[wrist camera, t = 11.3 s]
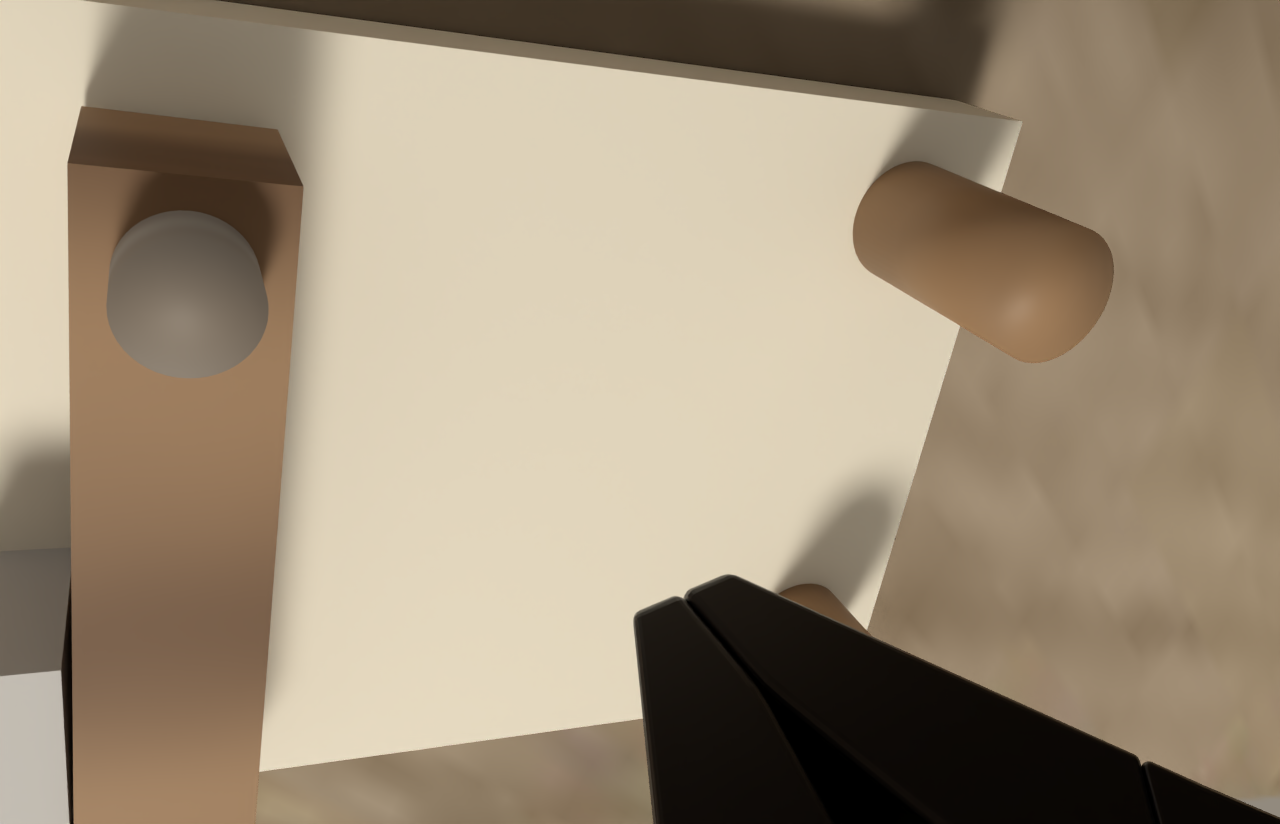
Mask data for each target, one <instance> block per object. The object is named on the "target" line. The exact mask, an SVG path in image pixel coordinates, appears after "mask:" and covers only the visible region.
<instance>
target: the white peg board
mask: <svg viewBox="0 0 1280 824" xmlns="http://www.w3.org/2000/svg"><path fill="white" fill-rule="evenodd" d="M81 106H86V107H94V108H103V109H111V110H119V111H128V112H136V113H145V114H153V115H161V116H170V117H178V118H187V119H195V120H203V121H212V122H220V123H228V124H237V125H245V126H254V127H262V128H270V129H278V131H279V133H280V136H281V138H282V140H283V142H284V144H285V147H286V149H287V151H288V153H289V155H290V158H291V160H292V162H293V164H294V166H295V169H296V171H297V173H298V175H299V177H300V180H301V182H302V184H303V186H304V189H303V202H302V215H301V228H300V242H299V255H298V268H297V281H296V294H295V307H294V320H293V334H292V347H291V360H290V373H289V386H288V399H287V412H286V426H285V439H284V452H283V465H282V478H281V491H280V504H279V518H278V531H277V544H276V557H275V570H274V583H273V597H272V610H271V623H270V636H269V649H268V662H267V675H266V689H265V702H264V715H263V728H262V741H261V754H260V767H259V772H261V771H268V770H275V769H282V768H290V767H297V766H304V765H311V764H318V763H326V762H333V761H340V760H347V759H354V758H362V757H369V756H376V755H383V754H390V753H397V752H405V751H412V750H419V749H426V748H433V747H441V746H448V745H455V744H462V743H469V742H477V741H484V740H491V739H498V738H505V737H513V736H520V735H527V734H534V733H541V732H549V731H556V730H563V729H570V728H577V727H585V726H592V725H599V724H606V723H613V722H621V721H628V720H635V719H642V718H643V716H642V706H641V696H640V686H639V677H638V667H637V657H636V647H635V637H634V627H633V618H634V615H635V614H636V612H638V611H639V610H641V609H644V608H646V607H648V606H651V605H653V604H656V603H658V602H660V601H663V600H665V599H667V598H670V597H672V596H679V597H682V598H684V595H685V594H686V592H687V591H688V590H689V589H691V588H693V587H696V586H698V585H700V584H703V583H705V582H707V581H710V580H712V579H714V578H717V577H719V576H722V575H725V574H731V575H736V576H739V577H741V578H743V579H745V580H748V581H750V582H752V583H754V584H757V585H759V586H761V587H763V588H765V589H768V590H770V591H772V592H774V593H777V594H779V595H781V596H783V597H785V598H788V599H790V600H792V601H794V602H797V603H799V604H801V605H803V606H805V607H808V608H810V609H812V610H814V611H817V612H819V613H821V614H823V615H825V616H828V617H830V618H832V619H834V620H837V621H839V622H841V623H843V624H845V625H848V626H850V627H852V628H854V629H857V630H859V631H861V632H863V633H865V634H868V635H870V634H869V632H868V631H867V628H868V625H869V621H870V618H871V615H872V612H873V608H874V605H875V602H876V599H877V595H878V592H879V589H880V586H881V582H882V579H883V576H884V572H885V569H886V566H887V563H888V559H889V556H890V553H891V550H892V546H893V543H894V540H895V537H896V533H897V530H898V527H899V523H900V520H901V517H902V514H903V510H904V507H905V504H906V501H907V497H908V494H909V491H910V488H911V484H912V481H913V478H914V475H915V471H916V468H917V465H918V461H919V458H920V455H921V452H922V448H923V445H924V442H925V439H926V435H927V432H928V429H929V426H930V422H931V419H932V416H933V412H934V409H935V406H936V403H937V399H938V396H939V393H940V390H941V386H942V383H943V380H944V377H945V373H946V370H947V367H948V363H949V360H950V357H951V354H952V350H953V347H954V344H955V341H956V337H957V334H958V331H959V328H960V326H961V327H963V328H965V329H966V330H968V331H970V332H971V333H973V334H975V335H976V336H978V337H980V338H981V339H983V340H985V341H986V342H988V343H990V344H991V345H993V346H995V347H996V348H998V349H1000V350H1001V351H1003V352H1005V353H1006V354H1008V355H1010V356H1012V357H1013V358H1015V359H1017V360H1019V361H1023V362H1027V363H1040V362H1045V361H1049V360H1052V359H1054V358H1057V357H1059V356H1061V355H1063V354H1064V353H1066V352H1067V351H1069V350H1070V349H1072V348H1073V347H1074V346H1076V345H1077V344H1078V343H1079V342H1080V341H1081V340H1082V339H1083V338H1084V337H1085V336H1086V335H1087V334H1088V333H1089V332H1090V330H1091V329H1092V328H1093V327H1094V325H1095V324H1096V322H1097V321H1098V319H1099V318H1100V316H1101V314H1102V312H1103V310H1104V308H1105V306H1106V304H1107V301H1108V299H1109V295H1110V292H1111V288H1112V283H1113V275H1114V265H1113V258H1112V254H1111V251H1110V249H1109V247H1108V245H1107V243H1106V242H1105V240H1104V239H1103V238H1102V237H1101V236H1100V235H1099V234H1098V233H1096V232H1095V231H1093V230H1091V229H1088V228H1086V227H1083V226H1081V225H1079V224H1076V223H1074V222H1071V221H1069V220H1066V219H1064V218H1062V217H1059V216H1057V215H1054V214H1052V213H1049V212H1047V211H1045V210H1042V209H1040V208H1037V207H1035V206H1032V205H1030V204H1028V203H1025V202H1023V201H1020V200H1018V199H1015V198H1013V197H1011V196H1008V195H1006V194H1003V193H1001V190H1002V187H1003V184H1004V181H1005V177H1006V174H1007V171H1008V168H1009V164H1010V161H1011V158H1012V154H1013V151H1014V148H1015V145H1016V141H1017V138H1018V135H1019V132H1020V128H1021V125H1022V121H1019V120H1016V119H1013V118H1010V117H1007V116H1004V115H1000V114H997V113H994V112H991V111H988V110H985V109H982V108H979V107H975V106H972V105H969V104H966V103H963V102H960V101H957V100H951V99H943V98H936V97H929V96H921V95H914V94H906V93H899V92H892V91H884V90H877V89H869V88H862V87H855V86H847V85H840V84H832V83H825V82H817V81H810V80H803V79H795V78H788V77H780V76H773V75H766V74H758V73H751V72H743V71H736V70H729V69H721V68H714V67H706V66H699V65H691V64H684V63H677V62H669V61H662V60H654V59H647V58H640V57H632V56H625V55H617V54H610V53H603V52H595V51H588V50H580V49H573V48H566V47H558V46H551V45H543V44H536V43H528V42H521V41H514V40H506V39H499V38H491V37H484V36H477V35H469V34H462V33H454V32H447V31H440V30H432V29H425V28H417V27H410V26H402V25H395V24H388V23H380V22H373V21H365V20H358V19H351V18H343V17H336V16H328V15H321V14H314V13H306V12H299V11H291V10H284V9H277V8H269V7H262V6H254V5H247V4H239V3H232V2H225V1H217V0H0V824H74V809H73V705H72V601H71V497H70V393H69V289H68V185H67V162H68V158H69V154H70V150H71V146H72V142H73V138H74V134H75V129H76V125H77V121H78V117H79V113H80V109H81ZM870 636H871V635H870Z"/></svg>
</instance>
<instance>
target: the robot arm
mask: <svg viewBox="0 0 1280 824" xmlns="http://www.w3.org/2000/svg"><path fill="white" fill-rule="evenodd" d="M633 627H634V637H635V647H636V657H637V667H638V677H639V686H640V696H641V706H642V716H643V726H644V736H645V746H646V755H647V765H648V775H649V785H650V795H651V805H652V815H653V824H1280V817H1277V816H1275V815H1272V814H1270V813H1268V812H1265V811H1263V810H1261V809H1258V808H1256V807H1253V806H1251V805H1249V804H1246V803H1244V802H1242V801H1239V800H1237V799H1235V798H1232V797H1230V796H1228V795H1225V794H1223V793H1221V792H1218V791H1216V790H1213V789H1211V788H1209V787H1206V786H1204V785H1202V784H1200V783H1197V782H1195V781H1193V780H1191V779H1188V778H1186V777H1184V776H1182V775H1180V774H1177V773H1175V772H1173V771H1171V770H1168V769H1166V768H1164V767H1162V766H1160V765H1157V764H1155V763H1153V762H1149V761H1148V762H1145V763H1143V764H1142V767H1141V764H1140V760H1139V759H1138V757H1137V756H1136V755H1134V754H1132V753H1130V752H1127V751H1125V750H1123V749H1121V748H1119V747H1116V746H1114V745H1112V744H1110V743H1107V742H1105V741H1103V740H1101V739H1099V738H1096V737H1094V736H1092V735H1090V734H1087V733H1085V732H1083V731H1081V730H1079V729H1076V728H1074V727H1072V726H1070V725H1067V724H1065V723H1063V722H1061V721H1059V720H1056V719H1054V718H1052V717H1050V716H1048V715H1045V714H1043V713H1041V712H1039V711H1036V710H1034V709H1032V708H1030V707H1028V706H1025V705H1023V704H1021V703H1019V702H1016V701H1014V700H1012V699H1010V698H1008V697H1005V696H1003V695H1001V694H999V693H996V692H994V691H992V690H990V689H988V688H985V687H983V686H981V685H979V684H976V683H974V682H972V681H970V680H968V679H965V678H963V677H961V676H959V675H956V674H954V673H952V672H950V671H948V670H945V669H943V668H941V667H939V666H936V665H934V664H932V663H930V662H928V661H925V660H923V659H921V658H919V657H916V656H914V655H912V654H910V653H908V652H905V651H903V650H901V649H899V648H896V647H894V646H892V645H890V644H888V643H885V642H883V641H881V640H879V639H876V638H874V637H872V636H870V635H868V634H865V633H863V632H861V631H859V630H857V629H854V628H852V627H850V626H848V625H845V624H843V623H841V622H839V621H837V620H834V619H832V618H830V617H828V616H825V615H823V614H821V613H819V612H817V611H814V610H812V609H810V608H808V607H805V606H803V605H801V604H799V603H797V602H794V601H792V600H790V599H788V598H785V597H783V596H781V595H779V594H777V593H774V592H772V591H770V590H768V589H765V588H763V587H761V586H759V585H757V584H754V583H752V582H750V581H748V580H745V579H743V578H741V577H739V576H736V575H731V574H725V575H722V576H719V577H717V578H714V579H712V580H710V581H707V582H705V583H703V584H700V585H698V586H696V587H693V588H691V589H689V590H688V591H687V592H686V594H685V595H684V598H682V597H679V596H672V597H670V598H667V599H665V600H663V601H660V602H658V603H656V604H653V605H651V606H648V607H646V608H644V609H641V610H639V611H638V612H636V614H635V615H634V618H633Z"/></svg>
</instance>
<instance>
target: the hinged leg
mask: <svg viewBox="0 0 1280 824" xmlns="http://www.w3.org/2000/svg"><path fill="white" fill-rule="evenodd" d="M67 185H68V289H69V393H70V497H71V601H72V705H73V809H74V824H255V820H256V807H257V794H258V781H259V767H260V754H261V741H262V728H263V715H264V702H265V689H266V675H267V662H268V649H269V636H270V623H271V610H272V597H273V583H274V570H275V557H276V544H277V531H278V518H279V504H280V491H281V478H282V465H283V452H284V439H285V426H286V412H287V399H288V386H289V373H290V360H291V347H292V334H293V320H294V307H295V294H296V281H297V268H298V255H299V242H300V228H301V215H302V202H303V189H304V186H303V184H302V182H301V180H300V177H299V175H298V173H297V171H296V169H295V166H294V164H293V162H292V160H291V158H290V155H289V153H288V151H287V149H286V147H285V144H284V142H283V140H282V138H281V136H280V133H279V131H278V129H270V128H262V127H254V126H245V125H237V124H228V123H220V122H212V121H203V120H195V119H187V118H178V117H170V116H161V115H153V114H145V113H136V112H128V111H119V110H111V109H103V108H94V107H86V106H81V109H80V113H79V117H78V121H77V125H76V129H75V134H74V138H73V142H72V146H71V150H70V154H69V158H68V162H67Z"/></svg>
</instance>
